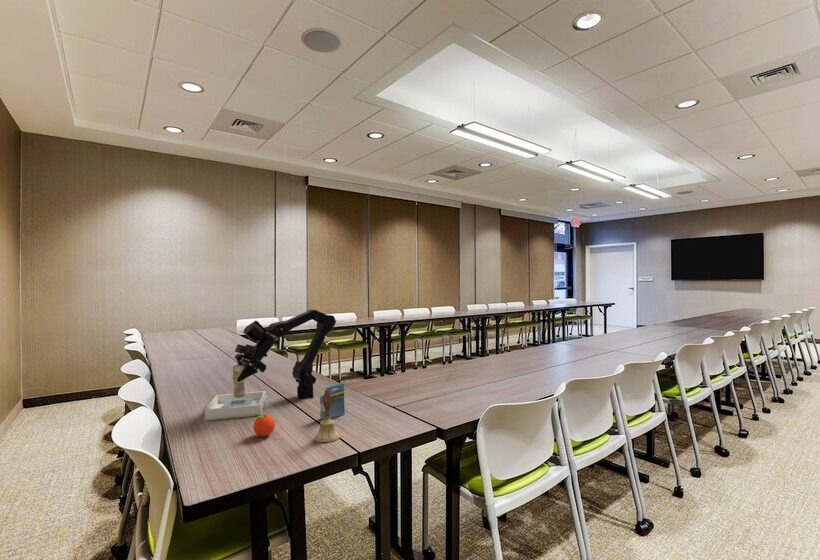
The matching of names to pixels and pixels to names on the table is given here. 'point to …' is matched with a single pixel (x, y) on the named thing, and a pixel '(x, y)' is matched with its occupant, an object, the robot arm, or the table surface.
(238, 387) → the peg
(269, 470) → the table surface
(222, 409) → the tray
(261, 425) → the clementine
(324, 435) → the hand bell
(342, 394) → the label tape cartridge
